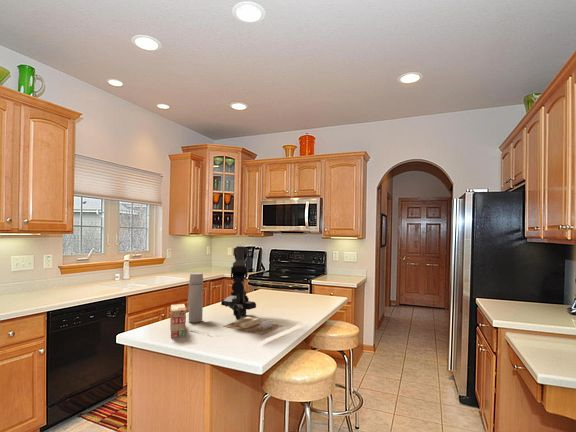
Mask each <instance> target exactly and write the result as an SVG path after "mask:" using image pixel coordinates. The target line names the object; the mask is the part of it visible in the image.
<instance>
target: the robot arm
mask: <svg viewBox="0 0 576 432" xmlns="http://www.w3.org/2000/svg"><path fill="white" fill-rule="evenodd" d="M232 252H233V253H232V254H233V256H234V260H235V261H234V262H233V263H232V266H231V269H230V280H232V283H231V284H232V285H231V290H232V291H231V292H230V296H227V297H226V298H223V299H222V300H221V301H220V302H221V303H220V305H221V306H224V307H228V308H229V309H231V310H232V311H233V312H232V313H233V316H235V319H236V320H239V319H242V317H247V310H248V311H250V310H253V309H256V308H257V303H256V302H255V301H251V300H250V301H249V297H248V295H247V291H246V290H245V280H247V278H248V277H249V276H248V273H249V271H248V270H249V269H248V267H247V266H246V261H247V259H248V256H249V248H247V247H245V246H243V245H242V246H241V245H239V246H235V247H234V248H233V250H232ZM236 320H235V321H236Z"/></svg>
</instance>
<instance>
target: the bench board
mask: <svg viewBox="0 0 576 432" xmlns="http://www.w3.org/2000/svg"><path fill="white" fill-rule="evenodd" d="M261 322H262V321H260V320H259V324H256V325H254V326H251V327H248V328H242V327H237V326H235V321H233V322H232V323H228V324H225V325H222V328H226V329H233V330H235V331H241V332H247V333H251V334H254V335H260V336H263V335H266V334H268V333H271V332H273V331H275V330H277V329H280V328H282V327H284V325H281V324H277V323H272V328H269V329H267V330H264V331H262V330H261Z"/></svg>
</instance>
